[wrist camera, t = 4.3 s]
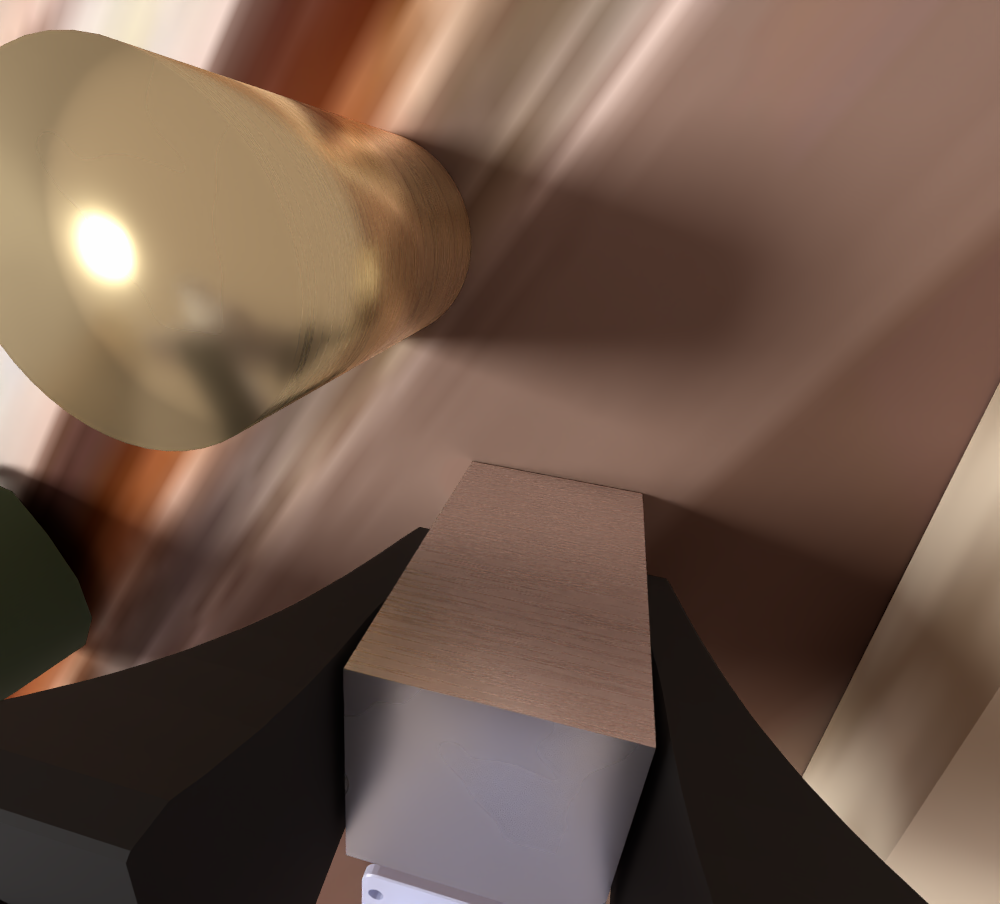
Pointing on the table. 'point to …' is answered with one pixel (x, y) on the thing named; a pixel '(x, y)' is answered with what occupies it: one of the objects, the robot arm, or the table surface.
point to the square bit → (507, 694)
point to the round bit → (203, 240)
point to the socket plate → (931, 702)
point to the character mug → (34, 600)
